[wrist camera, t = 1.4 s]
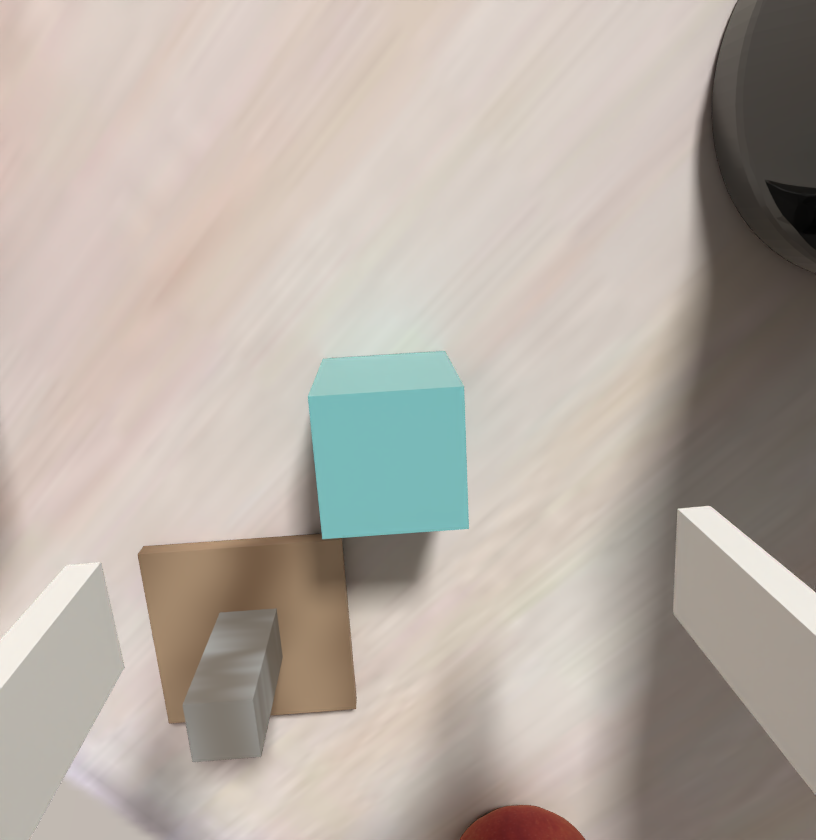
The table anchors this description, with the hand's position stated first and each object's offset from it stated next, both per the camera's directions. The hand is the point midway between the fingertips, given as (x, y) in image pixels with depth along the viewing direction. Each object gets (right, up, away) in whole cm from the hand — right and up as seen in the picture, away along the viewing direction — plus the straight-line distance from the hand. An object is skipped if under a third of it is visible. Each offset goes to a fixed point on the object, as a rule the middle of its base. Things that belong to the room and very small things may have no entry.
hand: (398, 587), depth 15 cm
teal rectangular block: (-1, +4, +14) cm, 15 cm away
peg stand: (-7, -6, +17) cm, 19 cm away
